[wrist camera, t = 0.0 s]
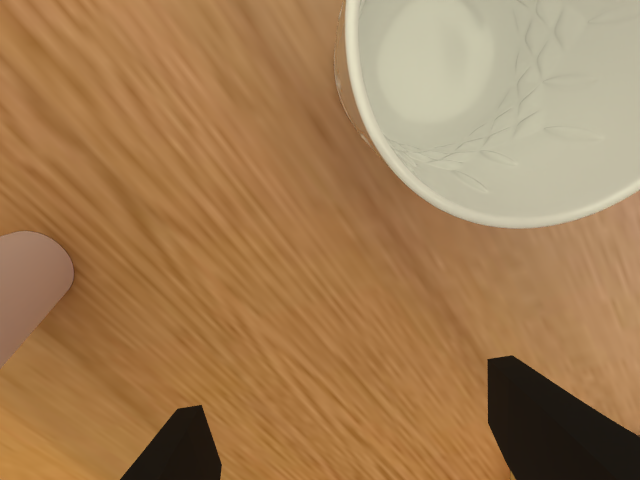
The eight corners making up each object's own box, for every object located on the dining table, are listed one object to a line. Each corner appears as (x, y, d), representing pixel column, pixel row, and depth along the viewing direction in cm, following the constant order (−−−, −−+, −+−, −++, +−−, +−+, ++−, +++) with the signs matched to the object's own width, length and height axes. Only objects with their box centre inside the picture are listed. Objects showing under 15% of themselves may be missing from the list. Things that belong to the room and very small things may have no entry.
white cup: (319, 160, 18) (339, 231, 8) (320, -47, 15) (353, -298, 5) (489, 160, 18) (696, 228, 8) (520, -42, 15) (875, -271, 6)
